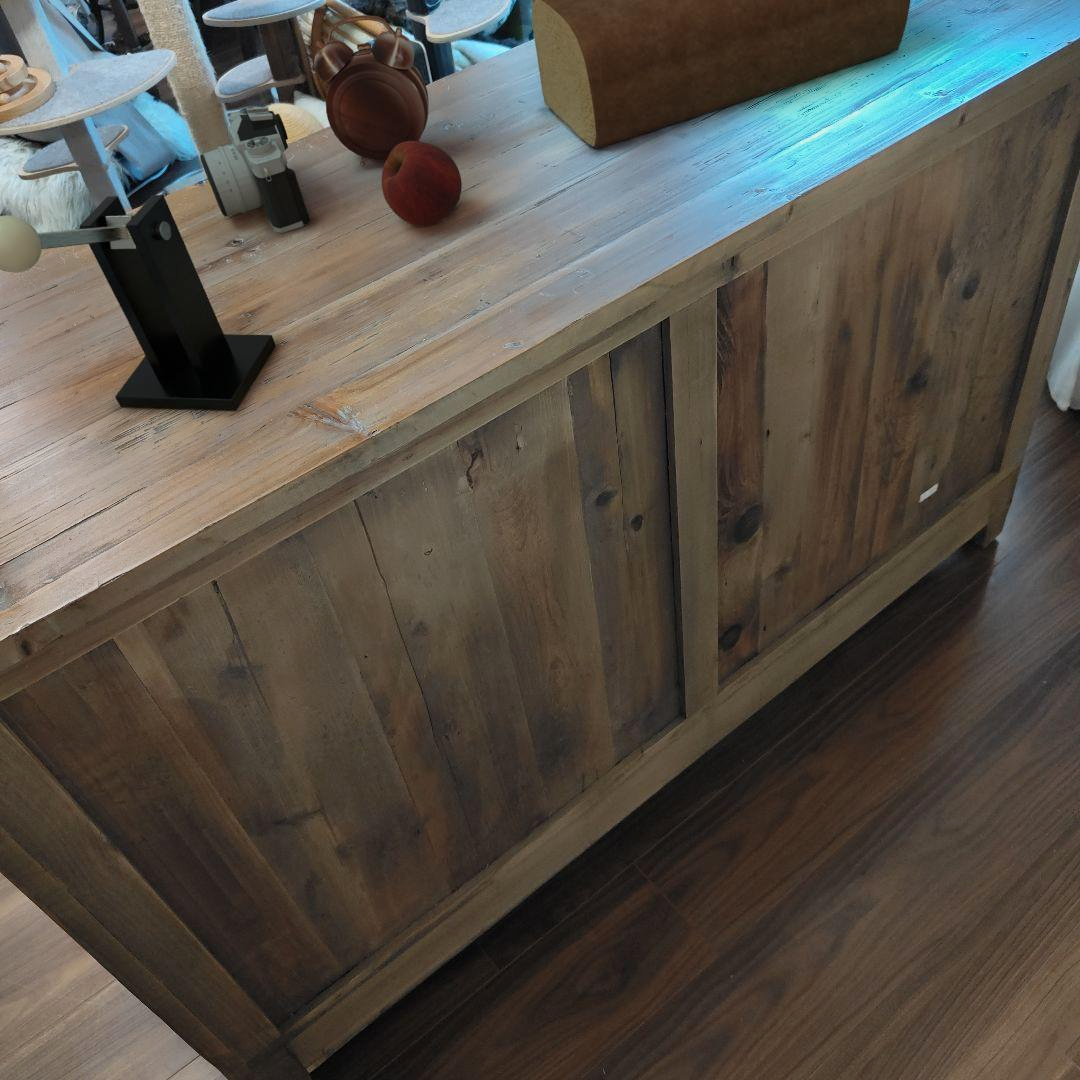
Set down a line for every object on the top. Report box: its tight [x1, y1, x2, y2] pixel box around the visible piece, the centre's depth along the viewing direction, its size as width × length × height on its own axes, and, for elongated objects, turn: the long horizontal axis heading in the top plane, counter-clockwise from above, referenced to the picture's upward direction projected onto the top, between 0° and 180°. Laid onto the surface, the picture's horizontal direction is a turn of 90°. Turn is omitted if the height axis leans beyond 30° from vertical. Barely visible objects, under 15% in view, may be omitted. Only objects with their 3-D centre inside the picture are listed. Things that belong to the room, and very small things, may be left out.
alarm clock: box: [313, 14, 430, 167], centre depth 106 cm, size 11×5×15 cm, turn 88°
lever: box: [0, 213, 137, 274], centre depth 72 cm, size 16×4×4 cm, turn 168°
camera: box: [199, 106, 311, 234], centre depth 104 cm, size 16×9×10 cm, turn 23°
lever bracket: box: [79, 194, 277, 412], centre depth 82 cm, size 9×11×16 cm
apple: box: [381, 140, 463, 227], centre depth 98 cm, size 7×8×8 cm
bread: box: [531, 0, 911, 149], centre depth 109 cm, size 16×39×13 cm, turn 112°
